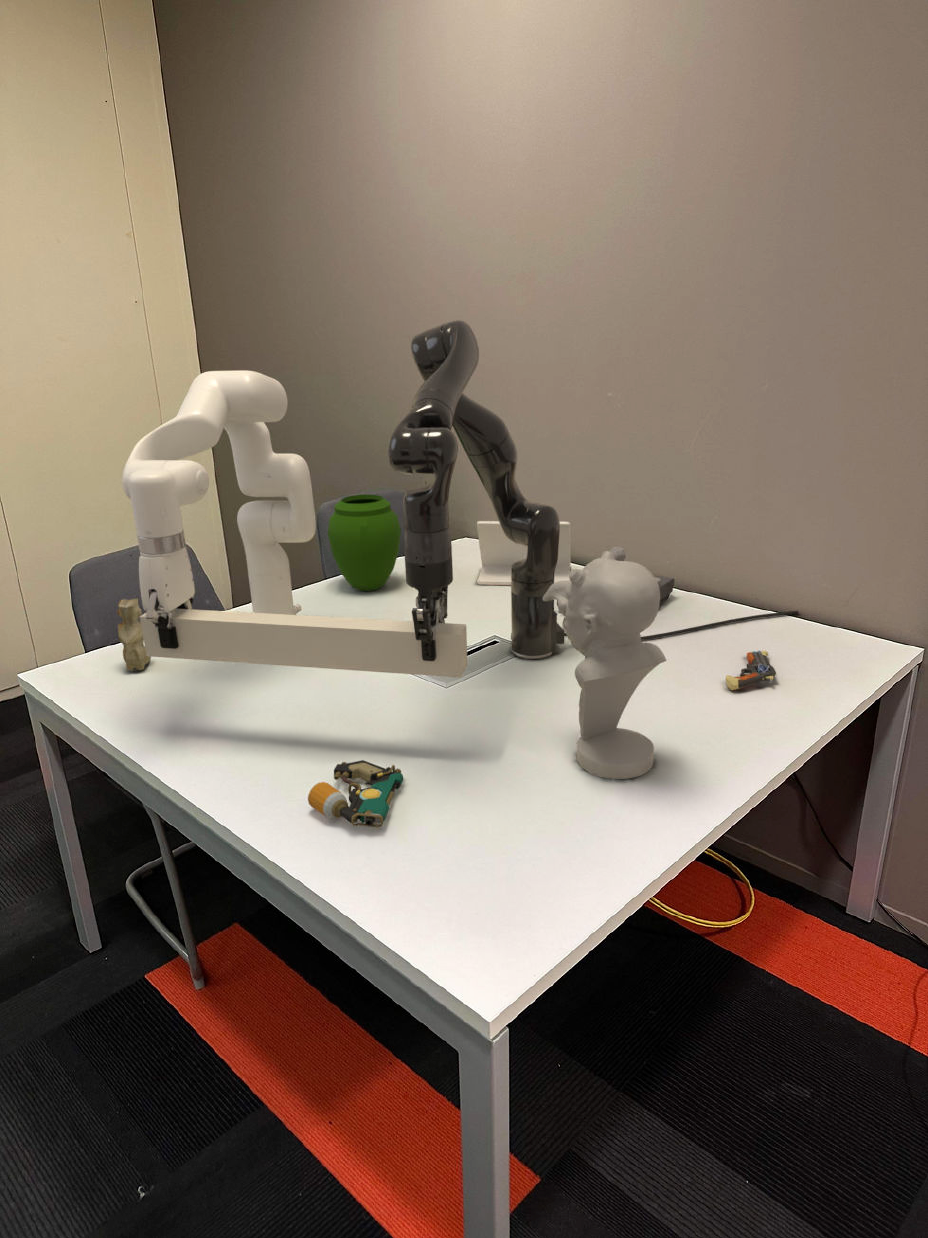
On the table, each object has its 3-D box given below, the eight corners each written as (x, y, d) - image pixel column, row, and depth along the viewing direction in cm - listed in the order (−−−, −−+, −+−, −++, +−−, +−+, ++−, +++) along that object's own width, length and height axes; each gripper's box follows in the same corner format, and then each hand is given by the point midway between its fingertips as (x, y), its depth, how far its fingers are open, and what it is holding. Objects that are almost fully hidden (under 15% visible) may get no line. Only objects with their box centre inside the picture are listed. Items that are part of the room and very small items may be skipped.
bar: (467, 666, 143) (466, 624, 141) (461, 677, 139) (459, 634, 136) (160, 646, 156) (154, 607, 153) (146, 656, 151) (139, 616, 149)
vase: (418, 582, 236) (413, 495, 227) (374, 603, 220) (368, 510, 212) (362, 572, 246) (356, 488, 237) (317, 591, 230) (309, 503, 222)
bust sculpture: (592, 709, 161) (598, 528, 148) (680, 765, 141) (694, 562, 128) (520, 730, 154) (519, 542, 141) (601, 792, 134) (608, 580, 121)
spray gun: (349, 769, 144) (428, 790, 138) (290, 816, 130) (376, 841, 124) (349, 746, 143) (429, 767, 137) (289, 791, 128) (375, 816, 122)
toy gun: (727, 680, 165) (782, 677, 163) (718, 649, 183) (767, 646, 181) (728, 693, 166) (782, 690, 164) (719, 661, 184) (767, 658, 182)
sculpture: (156, 659, 189) (146, 595, 184) (147, 672, 183) (135, 606, 177) (130, 660, 189) (118, 596, 184) (119, 673, 182) (107, 608, 177)
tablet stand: (569, 585, 229) (570, 524, 223) (476, 584, 232) (475, 523, 226) (570, 566, 246) (571, 508, 240) (484, 564, 249) (483, 507, 243)
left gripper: (168, 529, 154) (183, 623, 160) (113, 556, 138) (132, 659, 145) (206, 530, 152) (220, 625, 159) (154, 558, 137) (172, 662, 143)
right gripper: (417, 541, 143) (422, 636, 149) (392, 567, 130) (399, 670, 136) (461, 543, 141) (464, 638, 147) (440, 569, 128) (445, 673, 134)
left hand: (178, 640), depth 152 cm, fingers closed on bar, 4 cm apart
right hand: (433, 653), depth 141 cm, fingers closed on bar, 4 cm apart
